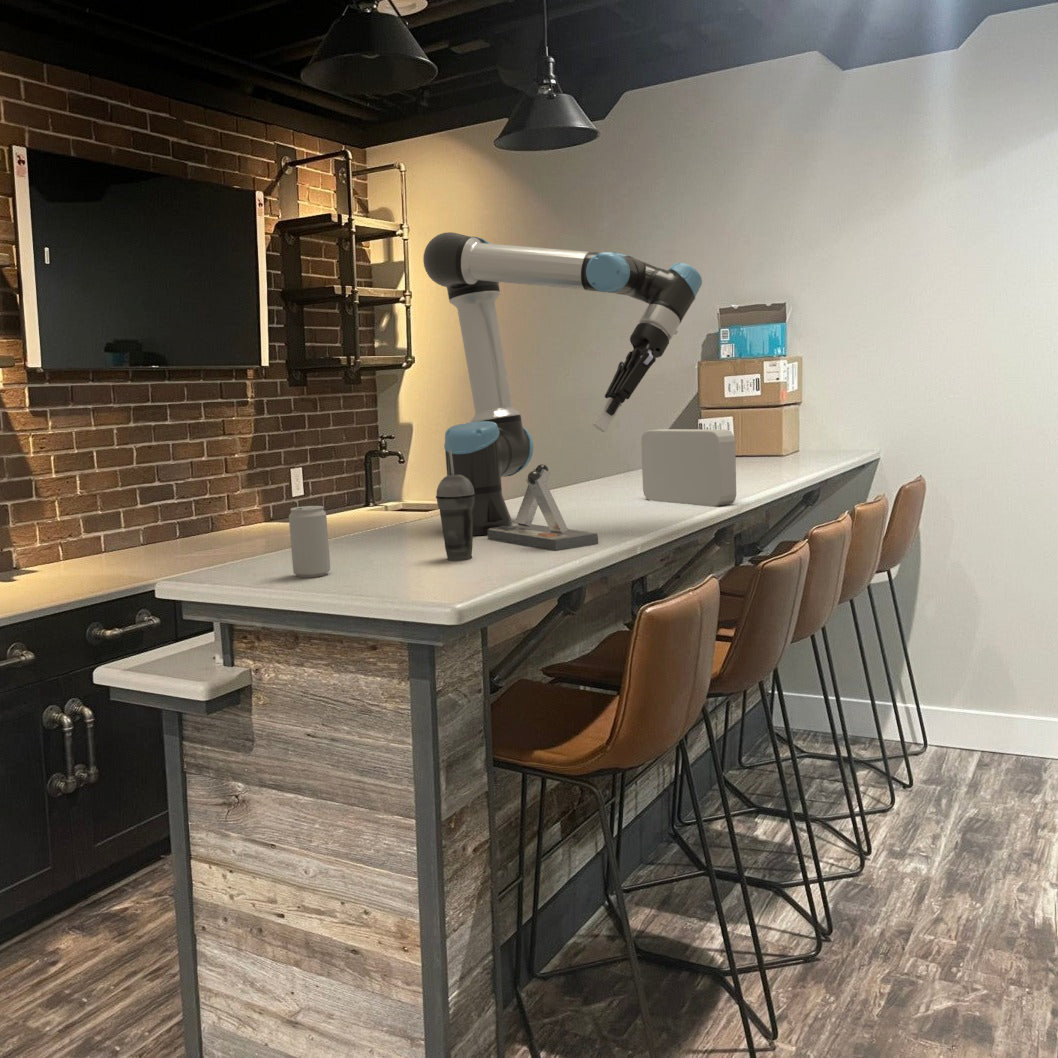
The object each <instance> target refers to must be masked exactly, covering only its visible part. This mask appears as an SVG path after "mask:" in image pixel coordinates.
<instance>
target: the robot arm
mask: <svg viewBox="0 0 1058 1058" xmlns="http://www.w3.org/2000/svg"><path fill="white" fill-rule="evenodd" d="M422 259H423V267H424V270H425V272H426V274H427V275H428V278H430V279H431V280H432V281H433V282H434V283H435V284H437V285H440V286H441V287H445V288H446V290H447V296H448V302H449V303H450V304H451V305H453V306H454V307H455V308H456V309H457V314H458V315H457V316H458V319H459V320H458V321H459V326H460V332H461V338H462V343H463V349H464V355H465V361H466V366H467V372H468V373H467V374H468V378H469V384H470V390H471V395H472V400H473V401H472V402H473V407H474V415H473V417H472V418H471V420H470V421H469V422H465V423H460V424H456V425H455V424H454V425H453V426H450V427H449V428H447V430H446V431H445V433H444V445H443V446H444V450H445V451H444V452H445V467H446V476H448V475H452V474H451V465H450V456H449V450H452V459H453V468H454V474H460V475H463V476H465V477H466V478H467V479H468V480H469V481H470V482H471V483H472V485H473V488H474V493H475V502H474V507H473V536H485V535H487V536H488V532H487V529H489V528H495V527H502V526H513V524H512V516H511V514H510V512H509V509H508V507H507V504H506V501H505V499H504V496H503V490H502V478H506V477H511V476H513V475H514V476H515V474H517V473H520V472H522V471H523V470H524V469H526V468H527V466H528V465H529V463H530V462H531V459H532V458H533V453H534V441H533V438H532V436H531V434H530V432H529V431H528V430H527V429H526V428H525V427H524V426H523V422H522V416H521V413H520V412H519V411H518V410H516V409H515V408H514V407H513V402H512V396H511V391H510V385H509V378H508V372H507V366H506V362H505V355H504V350H503V348H504V347H503V344H502V338H501V331H500V326H499V320H498V319H499V318H498V314H497V307H496V300H497V299H498V298H499V297H500V295H501V291H500V284H499V283H504V284H505V283H506V284H514V285H515V284H517V285H528V286H538V287H539V286H540V287H549V288H560V289H570V290H571V289H573V290H581V291H591V292H597V293H598V292H599V293H607V294H609V293H610V294H616V295H623V296H628V297H630V298H632V299H636V300H638V301H642V302H644V303H647V304H648V305H647V307H646V308H645V311H644V312H643V314H642V315H641V317H640V319H639V321H638V323H637V324H636V326H635V328H634V329H633V332H632V333H631V334H630V336H629V342H630V345H632V348H633V349H632V351H629V352H628V353H627V355H626V357H625V361H624V362H623V361H620V362H619V363H618V366H617V370H616V372H615V374H614V376H613V378H612V381H611V383H610V384H609V386H608V388H607V391H606V393H605V394H604V398H605V399H606V400H605V402H604V404H602V407H601V408H600V410H599V412H598V414H597V415H596V417H595V419H594V420H593V423H592V424H591V425H592V426H593V427H595V428H596V429H597V430H599V431H600V432H601V433H605V432H606V431H608V428H609V426H610V424H611V423H612V421H613V419H614V418H615V416H616V415H617V413H618V410H619V409H620V408H621V407H622V404H623V403H624V402H625V401H626V400H630V398H631V396H632V395H633V394H634V391H636V389H637V387H638V385H639V384H640V382H642V380H643V378H644V377H645V375H646V374H647V372H649V369H650V368H651V367H652V365H653V364H654V363H656V361H657V358H658V359H659V358H661V357H662V356H663V354H664V353H665V351H666V349H667V347H668V345H669V344H670V341H671V340H672V338H673V337H674V335H675V336H676V335H677V334H678V330H677V329H678V328H679V326H680V324H681V323H682V321H683V319H684V317H685V316H686V315H687V313H688V311H689V310H690V308H691V305H692V304H693V302H694V301H695V300H696V297H697V294H698V293H699V291H700V289H701V287H702V283H703V280H702V279H703V278H702V276H701V274H700V273H699V271H698V270H697V269H696V268H694V267H693V266H692V265H689V264H687V263H685V262H675V263H673V264H672V265H671V266H670V267H669V268H668V269H664V268H661V267H657V266H654V265H651V264H650V263H647V262H645V261H642V260H640V259H637V258H635V257H633V256H630V255H627V254H622V253H616V252H612V251H602V252H601V251H600V252H594V251H593V252H592V251H584V250H572V249H559V248H548V247H547V248H545V247H536V246H535V247H534V246H523V245H521V246H520V245H508V244H496V243H490V242H489V241H487V240H485V239H483V238H481V237H477V236H468V235H465V234H461V233H456V232H449V231H448V232H442V233H439V234H437V235H436V236H434V237H433V238H432V239H431V240H430V241H428V242H427V245H426V247H425V248H424V252H423V257H422Z"/></svg>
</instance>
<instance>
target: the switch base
mask: <svg viewBox="0 0 1058 1058" xmlns="http://www.w3.org/2000/svg"><path fill="white" fill-rule="evenodd" d="M487 532H488V534H487V540H492V541H499V542H505V543H509V544H515V545H522V546H527V547H533V548H538V549H546V550H551V551H555V552H556V551H562V550H563V551H564V550H568V549H574V548H579V547H580V548H581V547H586V546H592V545H598V544H599V534H598V533H597V532H591V531H584V530H576V529H568V530H567V531H565V532H564V533H563V534H559V533H552V532H551V531H550V528H549V526H548V525H540V524H534V523H531V526H530V527H528V526H521V525H518V524H516V525H515V524H514V525H512V526H502V527H495V528H489V529H487Z"/></svg>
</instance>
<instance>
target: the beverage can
mask: <svg viewBox="0 0 1058 1058" xmlns="http://www.w3.org/2000/svg"><path fill="white" fill-rule="evenodd" d="M327 518H328V517H327V512H326V511H325V510H324V506H323V505H306V506H297V507H291V508H290V513H289V514H288V521H289V522H288V523H289V524H288V525H289V535H290V548H291V559H292V560H291V563H292V572H293V574H295V575H296V577H297V578H305V579H307V578H310V579H311V578H320V577H323V576H327V574H328V572H330V571H331V559H330V545H329V533H328V532H329V531H328V519H327Z"/></svg>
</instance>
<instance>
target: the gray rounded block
mask: <svg viewBox="0 0 1058 1058" xmlns="http://www.w3.org/2000/svg"><path fill="white" fill-rule="evenodd" d="M640 440H641V441H640V442H641V443H640V444H641V445H640V448H641V467H642V468H641V470H642V471H641V472H642V473H641V474H642V492H643V496H644V497H645V498H646V499H647V500H649V501H651V500H652V501H651V502H663V503H673V504H683V505H692V506H693V505H694V506H695V505H696V506H704V507H705V506H706V507H719V506H727V505H732V504H734V503H735V501H736V499H737V498H736V497H737V467H736V466H737V465H736V464H737V463H736V460H737V459H736V438H735V435H734V433H733V432H732V431H731V430H728V429H710V428H709V429H704V428H703V429H702V428H701V429H695V428H694V429H691V428H689V429H688V428H687V429H686V428H683V429H681V428H680V429H679V428H678V429H677V428H675V429H673V428H671V429H670V428H669V429H668V428H660V429H648V430H645V431H643V433H642V434H641V439H640Z"/></svg>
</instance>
